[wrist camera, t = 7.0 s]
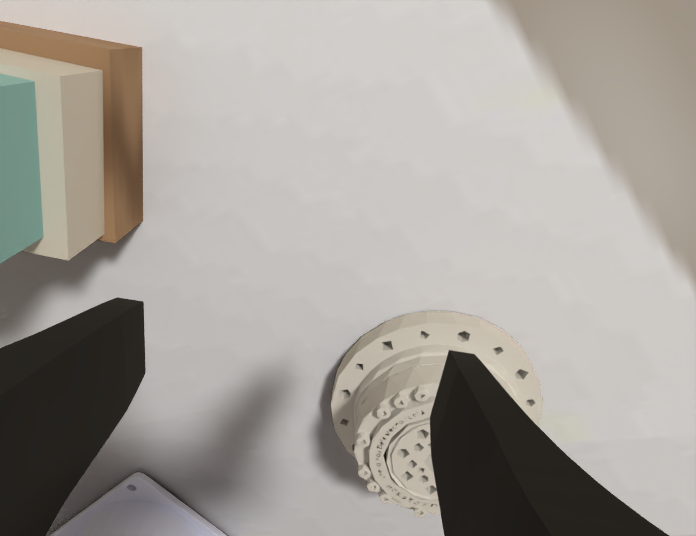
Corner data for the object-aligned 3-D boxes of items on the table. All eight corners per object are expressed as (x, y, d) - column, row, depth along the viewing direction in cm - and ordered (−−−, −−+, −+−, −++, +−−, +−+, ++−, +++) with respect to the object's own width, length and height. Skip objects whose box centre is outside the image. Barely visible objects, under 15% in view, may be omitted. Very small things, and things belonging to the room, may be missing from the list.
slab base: (146, 217, 22) (115, 243, 20) (-12, 189, 22) (-67, 211, 19) (146, 47, 19) (109, 49, 17) (-37, 13, 19) (-106, 9, 16)
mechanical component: (294, 365, 25) (396, 491, 28) (278, 428, 21) (400, 566, 24) (477, 270, 22) (566, 421, 26) (498, 322, 18) (601, 494, 22)
